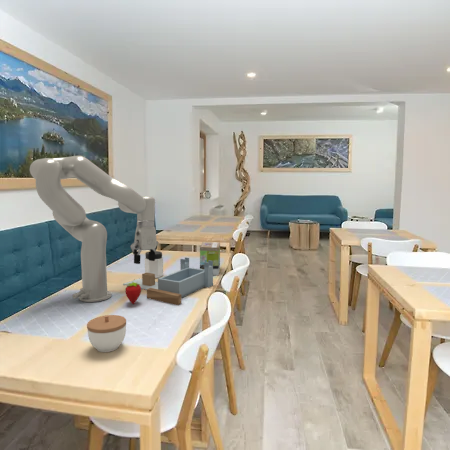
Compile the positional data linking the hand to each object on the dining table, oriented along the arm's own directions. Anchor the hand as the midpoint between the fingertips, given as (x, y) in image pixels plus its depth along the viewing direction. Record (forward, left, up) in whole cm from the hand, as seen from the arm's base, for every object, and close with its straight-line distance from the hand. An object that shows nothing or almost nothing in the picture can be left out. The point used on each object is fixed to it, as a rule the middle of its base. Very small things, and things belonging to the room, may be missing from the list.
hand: (144, 262), depth 161 cm
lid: (+1, -1, -12) cm, 12 cm away
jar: (+15, +8, -12) cm, 21 cm away
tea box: (+36, -12, -12) cm, 40 cm away
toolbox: (+4, -18, -11) cm, 22 cm away
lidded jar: (-51, -30, -12) cm, 60 cm away
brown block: (-11, -20, -12) cm, 25 cm away
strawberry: (-20, -11, -12) cm, 25 cm away
